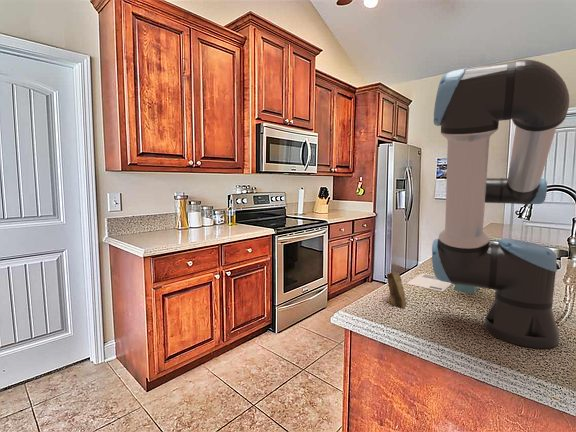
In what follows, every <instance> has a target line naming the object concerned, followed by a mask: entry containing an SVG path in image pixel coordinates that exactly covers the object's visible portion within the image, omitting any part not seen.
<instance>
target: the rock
mask: <svg viewBox="0 0 576 432" xmlns="http://www.w3.org/2000/svg"><path fill="white" fill-rule="evenodd" d="M401 277H402V276H401V274H399V273H398V272H396V271H393V272H390V273H388V274H386V279H387V285H388V290H389V296H390V297H389V298H390V304H391V305H393V306H395V307H398V308H399V309H400V308H401V309H406V305H407V301H406V300H407V299H406V293H405V290H404V286H403V284H402V282H403V281H402V278H401Z"/></svg>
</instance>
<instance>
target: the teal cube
mask: <svg viewBox="0 0 576 432" xmlns="http://www.w3.org/2000/svg"><path fill="white" fill-rule="evenodd" d="M478 289H479V287H474V286H467V285H460V284H454V291H456V292H457V291H458V292H462V293H467V294H471V295H472V294H473V295H475V293H476V292H477V291H478Z"/></svg>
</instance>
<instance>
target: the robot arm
mask: <svg viewBox="0 0 576 432" xmlns="http://www.w3.org/2000/svg"><path fill="white" fill-rule="evenodd" d="M435 96H436V97H435V101H434V108H433V124H434V125H435V126H436V127H440V135H442V136H443V137H444V138H445V139H446V140H447V151H446V152H447V153H446V183H445V184H446V186H445V188H446V189H445V191H446V192H445V194H446V195H445V223H444V230H442V231H440V233H439V234H438V238H435V239H434V240H433V241H432V246H431V253H432V254H431V261H432V269H433V273H434V274H433V275H435V276H436V277H437V279H439V280H440V281H443V282H449V283H452V284H451V285H455V284H460V285H467V286H474V287H478V288H481V289H486V290H487V289H489V290H495V291H494V300H493V302H492V304H491V306H490V307H489V309H488V311H487V314H486V315H485V319H484V328H485V330H486V331H487V332H488V333H490V335H492V336H494V337H496V338H497V339H500V340H501V341H504V342H507V343H511V344H513V345H517V346H522V347H526V348H532V349H553V348H555V347H557V346H558V345H559V340H560V332H559V329H558V325H557V322H556V319H555V316H554V312H553V305H554V303H553V301H554V292H555V281H556V273H557V272H558V268H557V254H556V252H555V251H554V250H553V249H552V248H549V247H547V246H544V245H542V244H538V243H535V242H534V243H533V242H529V241H525V240H520V239H519V240H518V239H513V238H500V239H499V241H498V242H497V243H498V244H497V243H490V238H489V235H487V234H486V233H485V232H484V223H485V221H484V218H485V210H486V209H485V208H486V207H485V206H486V203H488V204H510V205H511V204H513V205H514V204H515V205H526V206H527V205H541V204H543V203H544V202H545V201H546V197H547V191H548V181H547V180H546V179H545V178H542V177H543V174H544V173H543V172H544V170H545V167H546V164H547V161H548V158H549V153H550V150H551V147H552V144H553V140H554V137H555V134H556V131H557V127H559V126H560V125H561V124H563V123H564V121H565V119H566V117H567V114H568V111H569V108H570V94H569V89H568V86H567V84H566V82H565V81H564V79H563V77H562V76H561V75H560V74H559V73H558V72H557V71H556V70H555V69H554V68H552V67H551V66H549V65H548V64H546V63H543V62H541V61H538V60H536V59H535V60H533V59H518V60H514V61H509V62H507V61H506V62H501V63H494V64H486V65H478V66H473V67H464V68H461V69H456V70H452V71H448V72H446V73H445V74H443V76H442V77H441V79H440V81H439V84H438V87H437V91H436V95H435ZM509 120H511V121H512V123H513V125H514V126H515V128H514V129H515V130H514V136H513V142H512V148H511V156H510V163H509V168H508V169H509V170H508V175H507V178H506V177H505V178H504V177H499V178H498V177H494V178H493V177H491V178H490V177H489V178H488V177H487V176H488V164H489V150H490V149H489V147H490V139H491V136H492V135H494V134H495V132H497V131H498V130H499V123H500V121H509Z"/></svg>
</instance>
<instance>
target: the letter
mask: <svg viewBox="0 0 576 432" xmlns="http://www.w3.org/2000/svg"><path fill="white" fill-rule="evenodd" d="M405 285H410V286H415V287H420V288H424V289H429V290H433V291H437V292H445V291H446V290H447V289H448V288H449V287H450V286H451V285H453V284H452V283H449V282H443V281H440V280H439V279H437V277H436V276H435V274H429V273H423V272H422V273H420V274H418V275H416V276H415V277H414V278H413V279H411V280H409V281H408V282H406V283H405Z"/></svg>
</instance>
